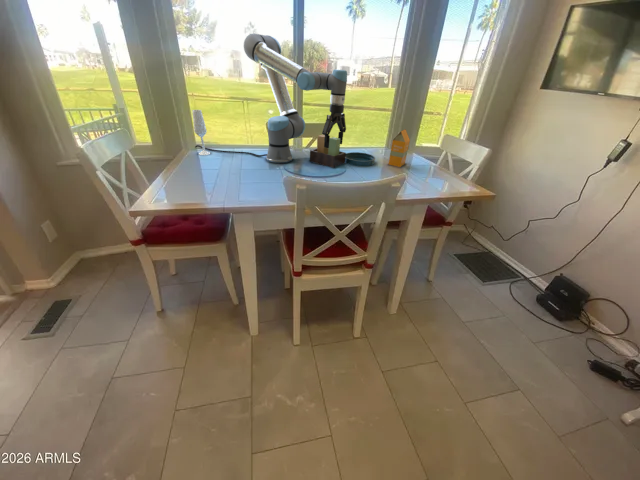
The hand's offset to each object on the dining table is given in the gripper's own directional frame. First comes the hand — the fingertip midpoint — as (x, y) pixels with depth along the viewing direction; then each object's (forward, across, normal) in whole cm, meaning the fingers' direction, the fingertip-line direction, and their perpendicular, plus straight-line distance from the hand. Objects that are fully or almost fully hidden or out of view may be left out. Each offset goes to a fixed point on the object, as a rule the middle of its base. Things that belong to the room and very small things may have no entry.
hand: (333, 145), depth 155 cm
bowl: (+10, +15, -10) cm, 21 cm away
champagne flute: (+12, -41, +66) cm, 79 cm away
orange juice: (+10, +28, -29) cm, 41 cm away
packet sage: (+10, 0, -1) cm, 10 cm away
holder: (+11, 0, +3) cm, 11 cm away
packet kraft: (+10, 0, +7) cm, 12 cm away
